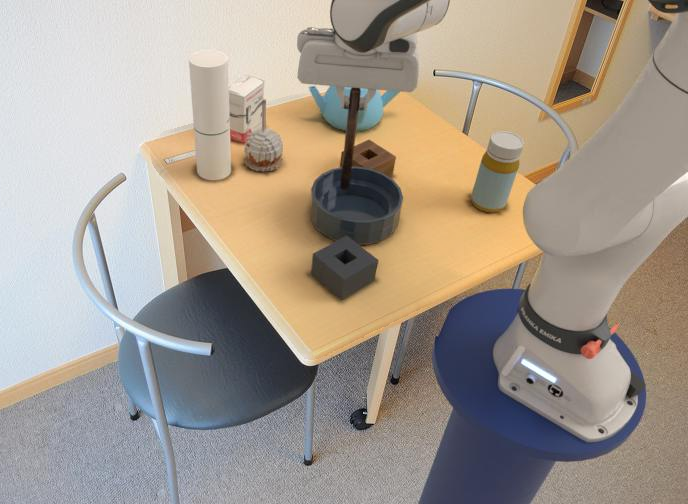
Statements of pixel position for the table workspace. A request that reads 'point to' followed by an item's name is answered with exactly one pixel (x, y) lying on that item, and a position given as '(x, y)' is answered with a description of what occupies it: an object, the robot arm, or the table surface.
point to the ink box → (245, 107)
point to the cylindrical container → (211, 113)
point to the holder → (372, 158)
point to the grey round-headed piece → (263, 147)
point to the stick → (350, 137)
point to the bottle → (497, 171)
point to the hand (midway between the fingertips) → (353, 108)
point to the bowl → (356, 205)
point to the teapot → (338, 116)
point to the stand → (344, 267)
